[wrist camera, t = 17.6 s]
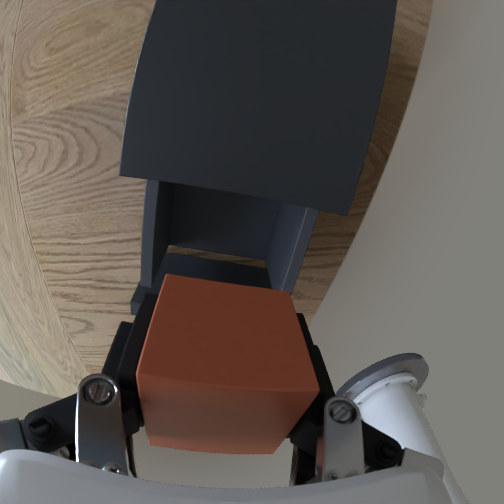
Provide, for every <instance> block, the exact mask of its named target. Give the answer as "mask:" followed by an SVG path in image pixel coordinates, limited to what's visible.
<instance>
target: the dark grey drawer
mask: <svg viewBox="0 0 504 504" xmlns="http://www.w3.org/2000/svg"><path fill="white" fill-rule="evenodd" d="M318 212H319V210H316V209H312V208H307V207H303V206H298V205H294V204H289V203H284V202H279V201H274V200H269V199H264V198H259V197H254V196H249V195H243V194H238V193H232V192H227V191H221V190H215V189H209V188H203V187H197V186H191V185H184V184H178V183H171V182H164V181H157V180H149V179H146V187H145V198H144V209H143V223H142V241H141V279H140V282H139V284H138V286H137V288H136V290H135V292H134V295H133V297H132V299H131V301H130V305H131V315H136V314H137V312H138V309H139V306H140V304H141V301H142V299H143V296H144V294H145V292H149V293H154V294H159V293H160V290H161V287H162V284H163V281H164V278H165V276H166V274H172V275H179V276H185V277H191V278H197V279H204V280H210V281H217V282H224V283H231V284H238V285H245V286H252V287H259V288H267V289H274V290H282V291H288V292H289V293H290V296H291V294H292V291H293V288H294V285H295V283H296V280H297V277H298V274H299V271H300V268H301V265H302V262H303V259H304V256H305V253H306V250H307V247H308V244H309V241H310V238H311V235H312V232H313V228H314V225H315V222H316V219H317V216H318ZM169 245H172V246H179V247H185V248H191V249H197V250H203V251H210V252H216V253H222V254H228V255H235V256H241V257H247V258H254V259H260V260H265V262H266V266H267V268H262V267H255V266H249V265H242V264H236V263H229V262H223V261H217V260H210V259H204V258H198V257H191V256H185V255H179V254H173V253H167V252H166V251H167V248H168V246H169Z"/></svg>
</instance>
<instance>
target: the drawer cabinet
mask: <svg viewBox="0 0 504 504" xmlns="http://www.w3.org/2000/svg"><path fill="white" fill-rule="evenodd" d="M396 5H397V0H156V2H155V5H154V8H153V11H152V14H151V17H150V20H149V23H148V26H147V29H146V32H145V36H144V39H143V43H142V46H141V50H140V54H139V57H138V61H137V65H136V70H135V74H134V78H133V83H132V88H131V93H130V98H129V103H128V108H127V114H126V120H125V127H124V134H123V141H122V149H121V158H120V168H119V175H120V176H125V177H133V178H141V179H149V180H157V181H164V182H171V183H178V184H184V185H191V186H197V187H203V188H209V189H215V190H221V191H227V192H232V193H238V194H243V195H249V196H254V197H259V198H264V199H269V200H274V201H279V202H284V203H289V204H294V205H298V206H303V207H307V208H312V209H316V210H321V211H325V212H329V213H334V214H338V215H342V216H347V215H348V212H349V208H350V205H351V202H352V199H353V196H354V193H355V190H356V187H357V183H358V180H359V177H360V173H361V170H362V167H363V163H364V160H365V156H366V153H367V149H368V145H369V142H370V138H371V134H372V130H373V126H374V122H375V118H376V114H377V110H378V106H379V102H380V97H381V93H382V88H383V83H384V79H385V74H386V69H387V63H388V58H389V52H390V47H391V41H392V34H393V28H394V21H395V13H396Z"/></svg>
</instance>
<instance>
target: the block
mask: <svg viewBox="0 0 504 504" xmlns="http://www.w3.org/2000/svg"><path fill="white" fill-rule="evenodd" d="M136 378H137V385H138V392H139V398H140V404H141V410H142V415H143V420H144V425H145V430H146V434H147V439H148V443H149V444H150V445H155V446H160V447H167V448H174V449H181V450H190V451H199V452H209V453H225V454H226V453H227V454H272V453H274V451H275V450H276V449H277V448H278V447H279V445H280V444H281V443H282V442H283V441H284V439H285V438H286V437H287V435H288V434H289V433H290V432H291V430H292V429H293V428H294V426H295V425H296V424H297V422H298V421H299V420H300V418H301V417H302V416H303V414H304V413H305V411H306V410H307V409H308V407H309V406H310V404H311V403H312V402H313V400H314V399H315V397H316V396H317V394H318V393H319V390H320V388H319V385H318V382H317V378H316V375H315V372H314V368H313V365H312V362H311V359H310V356H309V352H308V349H307V346H306V343H305V340H304V337H303V333H302V330H301V327H300V324H299V321H298V318H297V315H296V312H295V309H294V305H293V302H292V299H291V296H290V293H289V292H288V291H282V290H274V289H267V288H259V287H252V286H245V285H238V284H231V283H224V282H217V281H210V280H204V279H197V278H191V277H185V276H179V275H172V274H166V276H165V278H164V281H163V284H162V287H161V290H160V293H159V296H158V299H157V302H156V306H155V309H154V312H153V315H152V318H151V322H150V325H149V328H148V332H147V335H146V339H145V342H144V345H143V349H142V353H141V356H140V360H139V364H138V367H137V371H136Z"/></svg>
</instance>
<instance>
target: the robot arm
mask: <svg viewBox="0 0 504 504" xmlns="http://www.w3.org/2000/svg"><path fill="white" fill-rule="evenodd" d="M158 296H159V294H154V293H149V292H145V294H144V296H143V299H142V301H141V304H140V306H139V309H138V312H137V314H136V317H135V320H134V322H133V323H129V322H125V321H122V322H121V324H120V326H119V328H118V330H117V333H116V335H115V338H114V340H113V343H112V346H111V348H110V351H109V353H108V356H107V359H106V361H105V364H104V367H103V370H102V372H101V374H91V375H88V376H86V377H85V378H84V379H82V381H81V382H80V384H79V386H78V391H77V393H76V394H73V395H71V396H69V397H66V398H64V399H62V400H59V401H56V402H54V403H52V404H49V405H47V406H44V407H42V408H39V409H37V410H34V411H32V412H30V413H28V415H27V416H26V417H25V419H24V420H19V419H18V418H15V419H10V420H4V421H0V504H470V502H469V500H468V499H467V497H466V496H465V494H464V493H463V491H462V490H461V488H460V486H459V485H458V483H457V481H456V479H455V478H454V476H453V474H452V472H451V469H450V467H449V465H448V463H447V461H446V459H445V457H444V454H443V452H442V450H441V448H440V445H439V443H438V441H437V439H436V437H435V435H434V433H433V431H432V428H431V427H430V424H429V423H428V420H427V418H426V417H425V414H424V412H423V410H422V408H423V407H424V400H426V398H427V395H426V394H425V393H424V394H420V395H418V394H417V392H416V390H415V388H416V386H417V379H416V377H415V376H414V375H413V374H412V373H407V372H404V373H398V374H394V375H391V376H388V377H386V378H384V379H381V380H379V381H378V382H376V383H374V384H372V385H371V386H369V387H368V388H366V389H365V390H364V391H362V392H361V393H360V394H359V395H358V396H357V397H356V398H355V399H354V400H353V401H352V400H351V399H349V398H347V397H343V396H335V393H334V390H333V387H332V384H331V381H330V379H329V376H328V372H327V370H326V367H325V364H324V361H323V358H322V355H321V352H320V350H319V348H318V346H317V345H314V344H313V341H312V338H311V335H310V332H309V330H308V327H307V324H306V321H305V318H304V315H303V314H302V313H296V315H297V318H298V321H299V324H300V327H301V330H302V333H303V337H304V340H305V343H306V346H307V349H308V352H309V356H310V359H311V362H312V365H313V368H314V372H315V375H316V378H317V382H318V385H319V388H320V390H319V393H318V394H317V396H316V397H315V399H314V400H313V402H312V403H311V404H310V406H309V407H308V409H307V410H306V411H305V413H304V414H303V416H302V417H301V418H300V420H299V421H298V422H297V424H296V425H295V426H294V428H293V429H292V430H291V432H290V433H289V434H288V435H287V437H286V438H290V442H291V443H292V444H294V447H293V456H292V465H291V474H290V482H289V486H288V487H276V488H259V489H257V488H256V489H225V488H205V487H193V486H183V485H175V484H167V483H161V482H154V481H149V480H144V479H139V478H138V472H137V466H136V460H135V454H134V447H133V439H132V434H134V433H136V432H138V431H139V428H140V426H141V427H143V426H144V420H143V415H142V410H141V404H140V398H139V392H138V385H137V378H136V371H137V367H138V364H139V360H140V356H141V353H142V349H143V345H144V342H145V339H146V335H147V332H148V328H149V325H150V322H151V318H152V315H153V312H154V309H155V306H156V302H157V299H158ZM361 419H363V421H362V420H361Z"/></svg>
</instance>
